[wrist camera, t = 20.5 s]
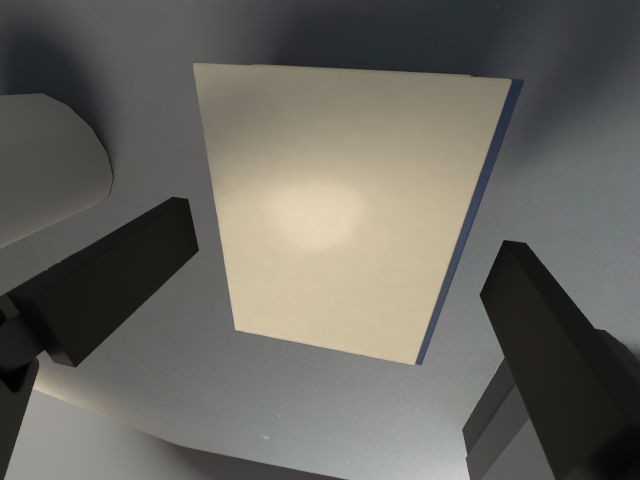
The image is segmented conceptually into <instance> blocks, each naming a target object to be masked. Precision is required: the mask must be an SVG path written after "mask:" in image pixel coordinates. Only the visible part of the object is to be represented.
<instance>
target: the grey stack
mask: <svg viewBox="0 0 640 480" xmlns="http://www.w3.org/2000/svg"><path fill="white" fill-rule="evenodd" d="M462 431H463V436H464V440H465V445H466V450H467V455H468V456H467V457H466V462H467V467H468V472H469V476H470V480H555V478H554V475H553V473H552V470H551V468H550V466H549V463H548V461H547V458H546V456H545V453H544V451H543V449H542V446H541V444H540V441H539V439H538V436H537V434H536V431H535V429H534V427H533V424H532V422H531V419H530V417H529V414H528V412H527V410H526V407H525V405H524V402H523V400H522V397H521V395H520V392H519V390H518V388H517V385H516V383H515V380H514V378H513V375H512V373H511V370H510V368H509V366H508V363H507V361H506V358H505V359H504V361H503V362H502V364H501V366H500V367H499V369H498V371H497V372H496V374H495V376H494V377H493V379H492V381H491V383H490V384H489V386H488V388H487V389H486V391H485V393H484V394H483V396H482V398H481V399H480V401H479V403H478V404H477V406H476V408H475V410H474V411H473V413H472V415H471V416H470V418H469V420H468V421H467V423H466V425H465V426H464V428H463V430H462Z"/></svg>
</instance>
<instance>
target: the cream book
mask: <svg viewBox="0 0 640 480" xmlns="http://www.w3.org/2000/svg"><path fill="white" fill-rule="evenodd" d="M193 69H194V75H195V81H196V88H197V94H198V100H199V106H200V112H201V119H202V125H203V131H204V137H205V144H206V150H207V156H208V162H209V169H210V175H211V181H212V187H213V193H214V200H215V206H216V212H217V218H218V225H219V231H220V237H221V243H222V249H223V256H224V262H225V268H226V274H227V281H228V287H229V293H230V299H231V306H232V312H233V318H234V324H235V330H238V331H243V332H248V333H253V334H259V335H264V336H269V337H274V338H279V339H284V340H289V341H294V342H299V343H304V344H309V345H314V346H319V347H324V348H329V349H334V350H339V351H344V352H349V353H354V354H360V355H365V356H370V357H375V358H380V359H385V360H390V361H395V362H400V363H405V364H410V365H415V364H418V365H422V362H423V359H424V356H425V354H426V351H427V348H428V345H429V343H430V340H431V337H432V334H433V332H434V329H435V326H436V323H437V320H438V318H439V315H440V312H441V309H442V307H443V304H444V301H445V298H446V296H447V293H448V290H449V287H450V285H451V282H452V279H453V276H454V274H455V271H456V268H457V265H458V262H459V260H460V257H461V254H462V251H463V249H464V246H465V243H466V240H467V238H468V235H469V232H470V229H471V227H472V224H473V221H474V218H475V216H476V213H477V210H478V207H479V204H480V202H481V199H482V196H483V193H484V191H485V188H486V185H487V182H488V180H489V177H490V174H491V171H492V169H493V166H494V163H495V160H496V158H497V155H498V152H499V149H500V146H501V144H502V141H503V138H504V135H505V133H506V130H507V127H508V124H509V122H510V119H511V116H512V113H513V111H514V108H515V105H516V102H517V100H518V97H519V94H520V91H521V89H522V86H523V83H524V80H521V79H505V78H487V77H467V76H448V75H428V74H408V73H389V72H369V71H349V70H330V69H310V68H290V67H271V66H251V65H231V64H208V63H194V64H193Z"/></svg>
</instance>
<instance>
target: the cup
mask: <svg viewBox="0 0 640 480" xmlns="http://www.w3.org/2000/svg"><path fill="white" fill-rule="evenodd" d="M112 181H113V175H112V171H111V167H110V162H109V158H108V154H107V152H106V151H105V149H104V147H103V146H102V144H101V142H100V141H99V139H98V137H97V136H96V134H95V133H94V131H93V129H92V128H91V127H90V126H89V125H88V124H87V123H86V122H85V121H84V120H83V119H82V118H81V117H80V116H79V115H78V114H76V113H75V112H74V111H73V110H72V109H71V108H70V107H69V106H68V105H66V104H64V103H62V102H60V101H58V100H55V99H53V98H51V97H49V96H47V95H45V94H43V93H36V94H20V95H4V96H0V248H3V247H5V246H7V245H9V244H11V243H14V242H16V241H18V240H20V239H22V238H25V237H27V236H29V235H31V234H33V233H35V232H38V231H40V230H42V229H44V228H46V227H49V226H51V225H53V224H55V223H57V222H59V221H62V220H64V219H66V218H68V217H70V216H73V215H75V214H77V213H79V212H81V211H83V210H86V209H88V208H90V207H92V206H94V205H96V204H98V203H99V202H101V201H102V200H104V199H105V198H106V197H108V196H109V193H110V189H111V185H112Z"/></svg>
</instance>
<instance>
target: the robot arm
mask: <svg viewBox="0 0 640 480" xmlns="http://www.w3.org/2000/svg"><path fill="white" fill-rule="evenodd" d="M198 251H199V248H198V244H197V239H196V234H195V229H194V225H193V220H192V215H191V210H190V206H189V201H188V199H185V198H177V197H172V198H170V199H168V200H167V201H165V202H163V203H161V204H160V205H158V206H156V207H155V208H153V209H151V210H149V211H148V212H146V213H144V214H143V215H141V216H139V217H137V218H136V219H134V220H132V221H131V222H129V223H127V224H125V225H124V226H122V227H120V228H119V229H117V230H115V231H113V232H112V233H110V234H108V235H107V236H105V237H103V238H101V239H100V240H98V241H96V242H95V243H93V244H91V245H89V246H88V247H86V248H84V249H83V250H81V251H79V252H76V253H74V254H72V255H71V256H69V257H67V258H66V259H64V260H62V261H60V263H57V264H55V265H53V266H52V267H50V268H48V270H47V271H43V272H41V273H40V274H38V275H36V276H35V277H33V278H31V279H29V280H28V281H26V282H24V283H22V284H21V285H19V286H17V287H16V288H14V289H12V290H10V291H9V292H7V293H5V294H4V295H2V296H0V480H4V477H5V474H6V471H7V468H8V465H9V462H10V459H11V455H12V452H13V449H14V446H15V443H16V439H17V436H18V433H19V430H20V426H21V423H22V420H23V417H24V414H25V411H26V407H27V404H28V401H29V398H30V395H31V391H32V388H33V385H34V382H35V379H36V376H37V372H38V369H39V361H38V359H37V358H36V356H37V355H39V354H40V353H41V352H42V351H44V350H46V352H47V353H48V354H49V356H50V357H51V359H52V360H53V362H54V363H58V364H63V365H67V366H71V367H75V368H76V367H77V366H78V365H79V364H80V363H81V362H82V361H83V360H84V359H85V358H86V357H87V356H88V355H89V354H90V353H91V352H92V351H94V350H95V349H96V348H97V347H98V346H99V345H100V344H101V343H102V342H103V341H104V340H105V339H106V338H107V337H108V336H109V335H110V334H111V333H113V332H114V331H115V330H116V329H117V328H118V327H119V326H120V325H121V324H122V323H123V322H124V321H125V320H126V319H127V318H128V317H129V316H130V315H131V314H133V313H134V312H135V311H136V310H137V309H138V308H139V307H140V306H141V305H142V304H143V303H144V302H145V301H146V300H147V299H148V298H149V297H150V296H152V295H153V294H154V293H155V292H156V291H157V290H158V289H159V288H160V287H161V286H162V285H163V284H164V283H165V282H166V281H167V280H168V279H169V278H171V277H172V276H173V275H174V274H175V273H176V272H177V271H178V270H179V269H180V268H181V267H182V266H183V265H184V264H185V263H186V262H187V261H188V260H189V259H191V258H192V257H193V256H194V255H195V254H196V253H197V252H198ZM480 297H481V300H482V302H483V305H484V307H485V310H486V312H487V314H488V317H489V319H490V322H491V324H492V327H493V329H494V331H495V334H496V336H497V339H498V341H499V344H500V346H501V349H502V351H503V353H504V356H505V358H506V361H507V363H508V366H509V368H510V370H511V373H512V375H513V378H514V380H515V383H516V385H517V388H518V390H519V392H520V395H521V397H522V400H523V402H524V405H525V407H526V410H527V412H528V414H529V417H530V419H531V422H532V424H533V427H534V429H535V431H536V434H537V436H538V439H539V441H540V444H541V446H542V449H543V451H544V453H545V456H546V458H547V461H548V463H549V466H550V468H551V470H552V473H553V475H554V478H555V480H640V362H639V361H638V360H637V358H636V357H635V356H634V355H633V354H632V353H631V352H630V350H629V349H628V348H627V347H626V346H625V345H623V344H622V343H621V342H619V341H618V340H617V339H616V338H614V337H613V336H612V335H610V334H609V333H608V332H606V331H605V330H599V329H595V328H594V327H593V326H592V324H591V323H590V322H589V321H588V319H587V318H586V317H585V316H584V314H583V313H582V312H581V311H580V309H579V308H578V307H577V306H576V304H575V303H574V302H573V301H572V300H571V298H570V297H569V296H568V295H567V293H566V292H565V291H564V290H563V288H562V287H561V286H560V285H559V283H558V282H557V281H556V280H555V278H554V277H553V276H552V275H551V273H550V272H549V271H548V270H547V268H546V267H545V266H544V265H543V264H542V262H541V261H540V260H539V259H538V257H537V256H536V255H535V254H534V252H533V251H532V250H531V249H530V247H529V246H528V245H527V244H526V243H522V242H515V241H507V240H504V241H503V243H502V246H501V248H500V250H499V252H498V255H497V257H496V259H495V261H494V264H493V266H492V268H491V270H490V273H489V275H488V277H487V280H486V282H485V284H484V286H483V289H482V291H481V293H480Z"/></svg>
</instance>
